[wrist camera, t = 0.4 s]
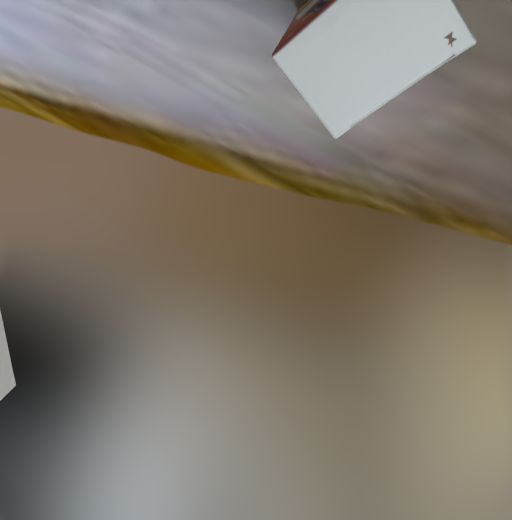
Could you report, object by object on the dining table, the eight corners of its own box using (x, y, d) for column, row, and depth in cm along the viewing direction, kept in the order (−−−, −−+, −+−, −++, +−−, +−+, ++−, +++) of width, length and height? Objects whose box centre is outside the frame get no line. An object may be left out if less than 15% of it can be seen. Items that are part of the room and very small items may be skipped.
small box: (404, -90, 27) (416, -76, 19) (453, -5, 29) (482, 41, 21) (295, 10, 31) (266, 56, 23) (344, 78, 33) (334, 142, 25)
